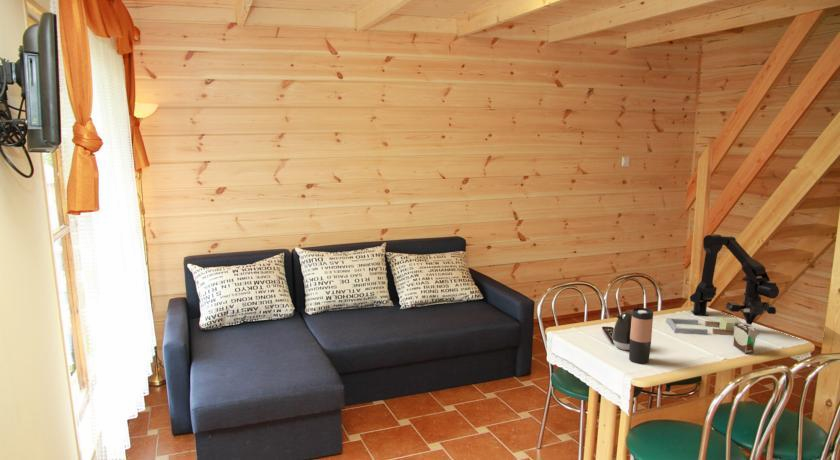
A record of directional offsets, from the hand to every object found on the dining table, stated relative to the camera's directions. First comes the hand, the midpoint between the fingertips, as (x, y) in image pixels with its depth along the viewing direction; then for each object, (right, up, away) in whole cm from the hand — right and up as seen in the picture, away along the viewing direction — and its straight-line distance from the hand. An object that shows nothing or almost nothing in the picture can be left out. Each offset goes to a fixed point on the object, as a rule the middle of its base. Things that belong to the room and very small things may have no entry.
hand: (748, 326), depth 261 cm
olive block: (-7, -2, +1) cm, 8 cm away
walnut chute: (-8, -2, +2) cm, 9 cm away
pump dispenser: (-62, -5, -21) cm, 66 cm away
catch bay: (-25, -1, +4) cm, 26 cm away
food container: (-13, -6, -22) cm, 26 cm away
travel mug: (-61, -8, -34) cm, 71 cm away
